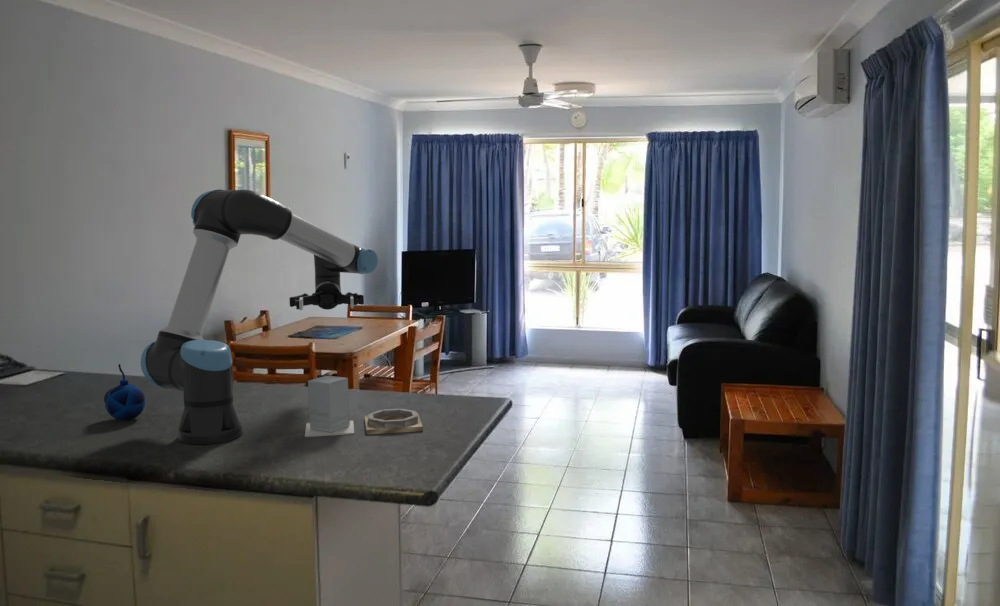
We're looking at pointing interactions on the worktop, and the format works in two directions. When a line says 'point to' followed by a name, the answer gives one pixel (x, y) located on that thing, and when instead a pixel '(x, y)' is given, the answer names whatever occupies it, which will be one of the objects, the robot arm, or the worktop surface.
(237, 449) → the worktop surface
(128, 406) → the bomb
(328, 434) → the coaster
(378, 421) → the ring stand
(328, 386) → the supplement box
